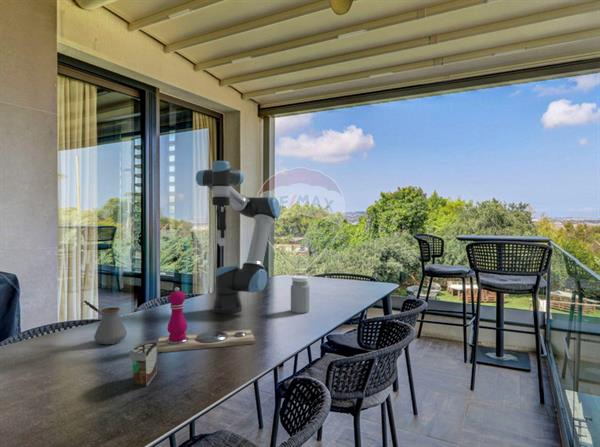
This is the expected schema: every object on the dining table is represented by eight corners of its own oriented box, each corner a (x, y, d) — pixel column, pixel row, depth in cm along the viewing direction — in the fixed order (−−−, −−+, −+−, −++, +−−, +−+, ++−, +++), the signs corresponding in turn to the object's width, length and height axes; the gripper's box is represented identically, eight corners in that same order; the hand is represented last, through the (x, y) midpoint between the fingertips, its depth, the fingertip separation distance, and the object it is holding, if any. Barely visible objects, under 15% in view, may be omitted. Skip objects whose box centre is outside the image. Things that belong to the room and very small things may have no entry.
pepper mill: (181, 342, 138) (180, 289, 138) (163, 341, 139) (163, 288, 139) (190, 336, 145) (190, 285, 145) (173, 335, 146) (173, 285, 146)
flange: (166, 338, 145) (166, 337, 145) (188, 336, 147) (188, 335, 147) (165, 345, 137) (165, 343, 137) (187, 343, 139) (187, 341, 139)
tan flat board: (159, 340, 147) (159, 336, 147) (250, 332, 157) (250, 329, 157) (155, 353, 133) (155, 348, 133) (255, 343, 143) (255, 339, 143)
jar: (287, 312, 189) (287, 277, 189) (295, 308, 198) (295, 274, 198) (305, 314, 186) (305, 278, 185) (312, 310, 195) (312, 275, 194)
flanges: (196, 334, 150) (196, 332, 150) (243, 330, 155) (243, 328, 155) (196, 344, 138) (196, 342, 138) (247, 339, 143) (247, 337, 143)
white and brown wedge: (138, 371, 118) (137, 340, 117) (158, 370, 118) (157, 339, 118) (122, 389, 105) (122, 354, 105) (145, 388, 106) (144, 353, 106)
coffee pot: (133, 339, 148) (133, 302, 148) (108, 348, 138) (107, 308, 138) (96, 332, 157) (96, 297, 157) (70, 341, 147) (70, 303, 146)
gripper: (211, 197, 174) (211, 242, 175) (213, 194, 150) (214, 247, 151) (227, 198, 176) (227, 242, 177) (232, 194, 152) (232, 246, 153)
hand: (221, 244), depth 164 cm, fingers open, 13 cm apart
